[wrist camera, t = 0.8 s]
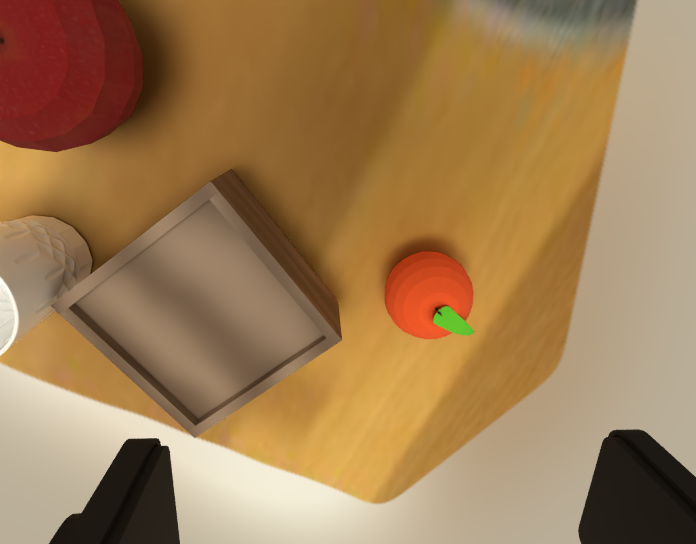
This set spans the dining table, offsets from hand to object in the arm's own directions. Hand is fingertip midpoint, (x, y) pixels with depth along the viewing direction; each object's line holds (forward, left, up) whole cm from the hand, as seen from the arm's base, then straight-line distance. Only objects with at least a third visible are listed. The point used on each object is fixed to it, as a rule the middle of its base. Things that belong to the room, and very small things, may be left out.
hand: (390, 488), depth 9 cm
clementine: (-3, +9, -27) cm, 29 cm away
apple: (+7, -19, -27) cm, 34 cm away
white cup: (+21, -11, -27) cm, 36 cm away
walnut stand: (+11, -1, -27) cm, 29 cm away
